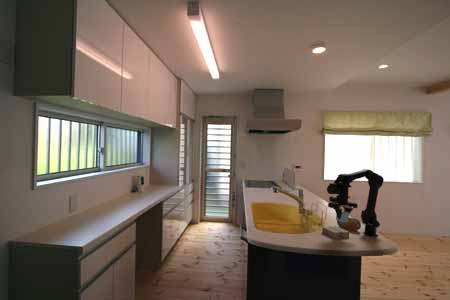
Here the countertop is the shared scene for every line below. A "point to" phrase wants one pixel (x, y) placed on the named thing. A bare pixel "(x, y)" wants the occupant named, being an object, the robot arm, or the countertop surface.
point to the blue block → (343, 217)
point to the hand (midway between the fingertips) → (342, 218)
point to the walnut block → (335, 232)
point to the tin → (350, 224)
